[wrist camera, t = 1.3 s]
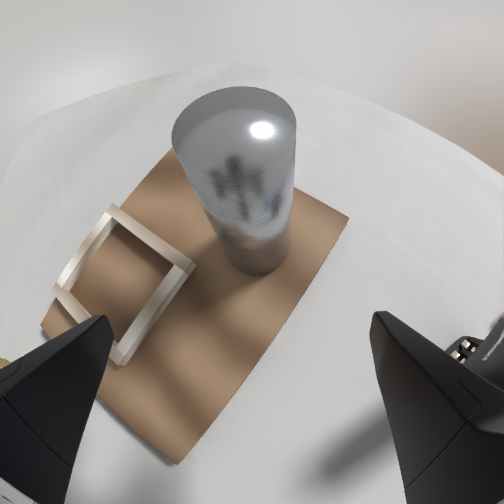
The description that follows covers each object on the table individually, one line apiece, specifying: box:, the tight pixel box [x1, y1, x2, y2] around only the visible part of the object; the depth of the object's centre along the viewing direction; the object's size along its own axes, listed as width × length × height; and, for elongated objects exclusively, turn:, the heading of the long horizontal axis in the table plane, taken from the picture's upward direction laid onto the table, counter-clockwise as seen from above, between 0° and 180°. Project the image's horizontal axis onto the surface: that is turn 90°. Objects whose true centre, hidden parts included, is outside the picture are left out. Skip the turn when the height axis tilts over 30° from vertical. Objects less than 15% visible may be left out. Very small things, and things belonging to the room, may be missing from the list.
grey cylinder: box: [171, 87, 296, 276], centre depth 17 cm, size 5×5×13 cm
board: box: [40, 147, 349, 465], centre depth 23 cm, size 24×18×2 cm
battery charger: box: [446, 318, 504, 391], centre depth 14 cm, size 7×4×11 cm, turn 121°
